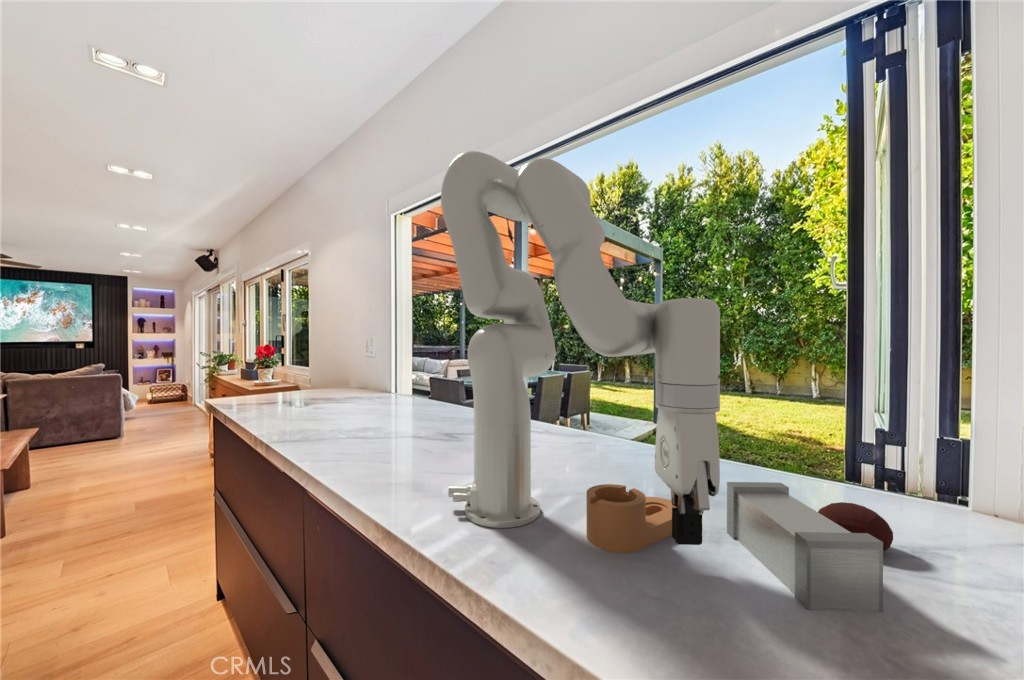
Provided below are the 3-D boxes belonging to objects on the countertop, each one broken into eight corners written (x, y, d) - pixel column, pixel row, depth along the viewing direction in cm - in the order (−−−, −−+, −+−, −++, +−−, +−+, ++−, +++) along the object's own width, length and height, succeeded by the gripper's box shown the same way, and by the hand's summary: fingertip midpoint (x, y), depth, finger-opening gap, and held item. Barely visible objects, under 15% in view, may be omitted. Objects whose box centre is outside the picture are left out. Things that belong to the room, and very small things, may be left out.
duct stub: (806, 613, 44) (806, 540, 44) (726, 533, 62) (726, 481, 62) (882, 615, 44) (883, 542, 44) (780, 534, 62) (780, 482, 62)
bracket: (620, 563, 55) (620, 511, 54) (574, 539, 61) (574, 492, 61) (694, 526, 65) (694, 482, 65) (649, 508, 72) (649, 468, 72)
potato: (822, 528, 64) (822, 489, 64) (895, 549, 58) (896, 506, 58) (810, 545, 59) (811, 502, 59) (889, 569, 53) (889, 522, 53)
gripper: (641, 389, 60) (641, 515, 60) (677, 406, 45) (677, 574, 45) (693, 389, 60) (693, 516, 60) (748, 407, 45) (748, 576, 45)
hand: (686, 541), depth 53 cm, fingers closed
